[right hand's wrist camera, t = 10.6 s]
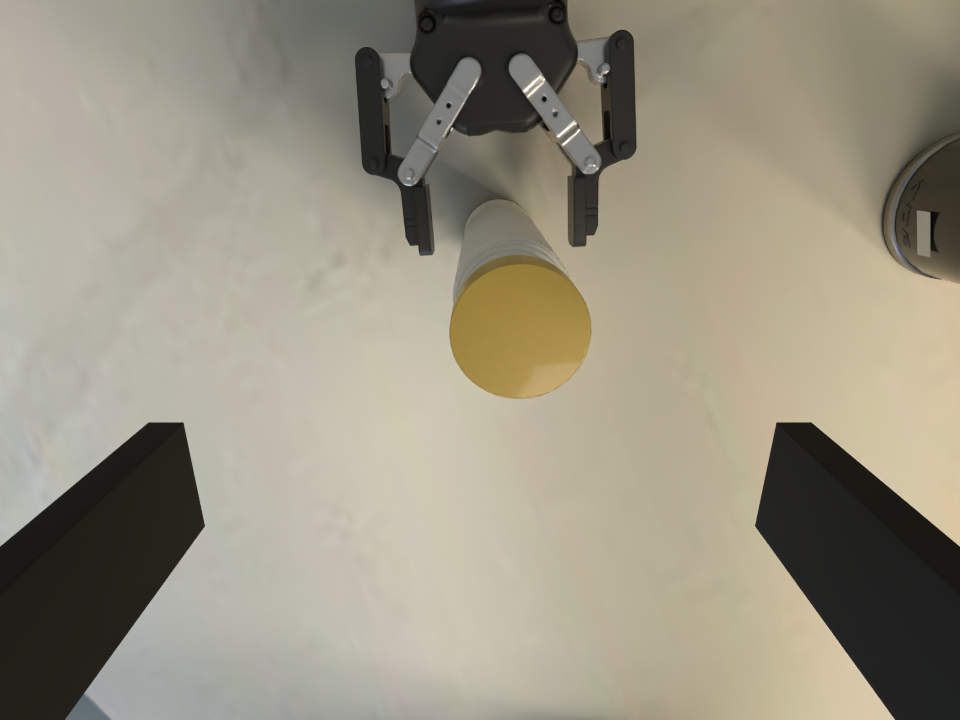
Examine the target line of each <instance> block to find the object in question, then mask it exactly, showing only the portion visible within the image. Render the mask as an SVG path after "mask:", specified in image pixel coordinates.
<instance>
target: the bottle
mask: <svg viewBox="0 0 960 720" xmlns="http://www.w3.org/2000/svg"><path fill="white" fill-rule="evenodd" d="M512 255H527V256H533V257H537V258H540V259H543V260H545V261H548V262H550V263H552V264H553V265H555V266H557V267H558V268H559V269H560V270H562V271H563V272H564V273H565V274H566V275H567V276H568V273H567V271H566V269H565V267H564V265H563V263H562V262H561V260H560V259H559V258H558V256H557V255H556V253H555V252H554V251H553V249H552V248H551V246H550V245H549V244H548V242H547V241H546V240H545V238H544V237H543V235H542V234H541V233H540V231H539V230H538V229H537V227H536V226H535V224H534V223H533V222H532V220H531V219H530V217H529V216H528V215H527V213H526V212H525V211H524V210H523V209H522V208H521V207H520V206H519V205H517V204H515V203H513V202H511V201H508V200H503V199H496V200H490V201H487V202H485V203H483V204H481V205H480V206H478V207H477V208H476V209H475V210H474V211H473V212H472V213H471V215H470V217H469V218H468V220H467V223H466V226H465V231H464V236H463V242H462V247H461V252H460V257H459V262H458V267H457V273H456V278H455V283H454V290H453V302H455V299H456V296H457V294H458V292H459V290H460V288H461V287H462V285H463V283H464V282H465V281H466V280H467V278H468V277H469V276H470V275H471V274H472V273H473V272H474V271H476V270H477V269H478V268H480V267H481V266H483V265H484V264H486V263H488V262H490V261H492V260H495V259H497V258H501V257H505V256H512ZM568 277H569V276H568Z"/></svg>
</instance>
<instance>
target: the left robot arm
mask: <svg viewBox="0 0 960 720" xmlns="http://www.w3.org/2000/svg"><path fill="white" fill-rule="evenodd" d="M414 2H415V13H416V24H417V34H416V40H415V44H414V47H413V49H412V51H411V53H377V52H376V51H375V50H374V49H372V48H370V47H363V48H361V49H360V50H359V51H358V52H357V54H356V57H355V65H356V80H357V94H358V109H359V123H360V138H361V152H362V165H363V168H364V170H365V171H366V172H367V173H369V174H371V175H377V176H380V177H384V178H387V179H390V180H392V181H394V182H395V183H396V184H397V185H398V186H399V188H400V190H401V197H402V206H403V216H404V225H405V235H406V238H407V240H408V242H409V244H410V246H414V245H418V247H419V254H420V256H424V255H433V253H434V235H433V224H432V213H431V201H430V190H429V184H427V185H425V178H424V176H425V175H426V173H427V171H428V170H429V168H430V166H431V165H432V163H433V161H434V160H435V158H436V156H437V155H438V153H439V152H440V150H441V149H442V147H443V146H444V144H445V143H446V141H447V139H448V138H449V136H450V134H451V133H452V131H453V129H455V130H457V131H458V132H460V133H462V134H464V135H468V136H480V135H485V134H487V133H490V132H493V131H502V132H506V133H525V132H527V131H528V130H531V129H532V128H534V127H536V126H537V125H538V124H539V126H540V127H541V128H542V130H543V131H544V132H545V133H546V135H547V136H548V137H549V139H550V140H551V141H552V142H553V143H554V144H555V145H556V146H557V148H558V149H559V150H560V152H561V153H562V154H563V156H564V157H565V158H566V159H567V161H568V162H569V163H570V165H571V166H572V176H568V240H569V244H570V245H571V246H572V247H581V246H586V235H594V234H595V232H596V229H597V226H598V180H599V176H600V173H601V172H602V170H603V169H604V168H606V167H607V166H609V165H612V164H614V163H616V162H618V161H621V160H625V159H628V158H630V157H632V156H633V154H634V153H635V151H636V113H635V73H634V40H633V37H632V35H631V34H630V33H629V32H628V31H626V30H619V31H617V32H615V33H614V34H612V35H611V36H609V37H604V38H597V39H590V40H583V41H575V39H574V37H573V35H572V33H571V31H570V28H569V24H568V16H567V0H414ZM576 64H580V65H582V66H583V67H584V68H585V69H586V70H587V73H588V78H589V80H590V81H591V82H592V83H593V84H595V85H601V102H602V125H603V141H601V142H599V143H597V144H595V145H592V144H591V143H590V141H589V140H588V139H587V137H586V136H585V134H584V133H583V132H582V130H581V129H580V127H579V125H578V123H577V121H576V120H575V118H574V117H573V116H572V114H571V113H570V112H569V110H568V109H567V108H566V106H565V105H564V104H563V102H562V101H561V100H560V98H559V97H558V94H559V92H560V90H561V89H562V87H563V86H564V84H565V82H566V81H567V79H568V78H569V76H570V74H571V73H572V71H573V70H574V68H575V66H576ZM410 75H413V77H414V79H415V80H416V81H417V83H418V84H419V85H420V86H421V88H422V89H423V90H424V92H425V93H426V94H427V95H428V97H429V98H430V99H431V101H432V102H433V103H434V104H435V105H434V107H433V109H432V110H431V112H430V114H429V115H428V117H427V119H426V121H425V122H424V124H423V126H422V127H421V129H420V131H419V133H418V135H417V137H416V140H415V141H414V143H413V145H412V146H411V148H410V150H409V152H408V153H407V155H406V157H405V158H403V157H399V156H396V155H393V154H392V153H391V133H390V114H389V99H394V98H396V97H397V96H398V95H399V94H400V92H401V85H402V82H403V80H404V79H405V78H406V77H408V76H410ZM884 235H885V240H886V243H887V246H888V248H889V250H890V252H891V254H892V255H893V257H894V258H895V259H896V260H897V261H898V262H899V263H900V264H901V265H902V266H903V267H905V268H906V269H908V270H909V271H912V272H914V273H916V274H920V275H923V276H926V277H930V278H934V279H942V280H946V281H950V282H953V283H957V284H960V133H957V134H954V135H951V136H948V137H946V138H943V139H942V140H940V141H938V142H936V143H934V144H933V145H931V146H929V147H928V148H927V149H925V150H924V151H922V152H921V153H920V154H919V155H918V156H917V157H915V158H914V159H913V160H912V161H911V162H910V164H909V165H908V166H907V167H906V168H905V169H904V171H903V172H902V173H901V175H900V176H899V178H898V179H897V181H896V183H895V184H894V186H893V188H892V190H891V193H890V195H889V198H888V201H887V204H886V208H885V213H884Z"/></svg>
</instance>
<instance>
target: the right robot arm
mask: <svg viewBox="0 0 960 720" xmlns="http://www.w3.org/2000/svg"><path fill="white" fill-rule="evenodd" d="M204 527H205V524H204V520H203V515H202V510H201V505H200V500H199V495H198V491H197V486H196V481H195V476H194V471H193V467H192V462H191V457H190V452H189V447H188V442H187V438H186V433H185V428H184V423H148V424H146V425H145V426H144V427H143V428H142V429H140V430H139V431H138V432H137V433H136V434H134V435H133V436H132V437H131V438H130V439H128V440H127V441H126V442H125V443H124V444H122V445H121V446H120V447H119V448H118V449H117V450H115V451H114V452H113V453H112V454H111V455H109V456H108V457H107V458H106V459H105V460H103V461H102V462H101V463H100V464H99V465H97V466H96V467H95V468H94V469H93V470H91V471H90V472H89V473H88V474H87V475H85V476H84V477H83V478H82V479H81V480H79V481H78V482H77V483H76V484H75V485H73V486H72V487H71V488H70V489H69V490H67V491H66V492H65V493H64V494H63V495H61V496H60V497H59V498H58V499H57V500H56V501H54V502H53V503H52V504H51V505H50V506H48V507H47V508H46V509H45V510H44V511H42V512H41V513H40V514H39V515H38V516H36V517H35V518H34V519H33V520H32V521H30V522H29V523H28V524H27V525H26V526H24V527H23V528H22V529H21V530H20V531H18V532H17V533H16V534H15V535H14V536H12V537H11V538H10V539H9V540H8V541H6V542H5V543H4V544H3V545H2V546H0V720H65V719H66V717H67V716H68V715H69V713H70V712H71V710H72V709H73V708H74V706H75V705H76V704H77V702H78V701H79V699H80V698H81V697H82V695H83V694H84V693H85V691H86V690H87V688H88V687H89V686H90V684H91V683H92V681H93V680H94V679H95V677H96V676H97V675H98V673H99V672H100V670H101V669H102V668H103V666H104V665H105V663H106V662H107V661H108V659H109V658H110V657H111V655H112V654H113V652H114V651H115V650H116V648H117V647H118V646H119V644H120V643H121V641H122V640H123V639H124V637H125V636H126V634H127V633H128V632H129V630H130V629H131V628H132V626H133V625H134V623H135V622H136V621H137V619H138V618H139V616H140V615H141V614H142V612H143V611H144V610H145V608H146V607H147V605H148V604H149V603H150V601H151V600H152V599H153V597H154V596H155V594H156V593H157V592H158V590H159V589H160V587H161V586H162V585H163V583H164V582H165V581H166V579H167V578H168V576H169V575H170V574H171V572H172V571H173V569H174V568H175V567H176V565H177V564H178V563H179V561H180V560H181V558H182V557H183V556H184V554H185V553H186V551H187V550H188V549H189V547H190V546H191V545H192V543H193V542H194V540H195V539H196V538H197V536H198V535H199V534H200V532H201V531H202V529H203V528H204ZM755 527H756V528H757V529H758V531H759V532H760V534H761V535H762V536H763V538H764V539H765V540H766V542H767V543H768V545H769V546H770V547H771V549H772V550H773V551H774V553H775V554H776V556H777V557H778V558H779V560H780V561H781V563H782V564H783V565H784V567H785V568H786V569H787V571H788V572H789V574H790V575H791V576H792V578H793V579H794V581H795V582H796V583H797V585H798V586H799V587H800V589H801V590H802V592H803V593H804V594H805V596H806V597H807V599H808V600H809V601H810V603H811V604H812V605H813V607H814V608H815V610H816V611H817V612H818V614H819V615H820V616H821V618H822V619H823V621H824V622H825V623H826V625H827V626H828V628H829V629H830V630H831V632H832V633H833V634H834V636H835V637H836V639H837V640H838V641H839V643H840V644H841V646H842V647H843V648H844V650H845V651H846V652H847V654H848V655H849V657H850V658H851V659H852V661H853V662H854V663H855V665H856V666H857V668H858V669H859V670H860V672H861V673H862V675H863V676H864V677H865V679H866V680H867V681H868V683H869V684H870V686H871V687H872V688H873V690H874V691H875V693H876V694H877V695H878V697H879V698H880V699H881V701H882V702H883V704H884V705H885V706H886V708H887V709H888V711H889V712H890V713H891V715H892V716H893V717H894V719H895V720H960V546H958V545H957V544H956V543H955V542H954V541H952V540H951V539H950V538H949V537H948V536H946V535H945V534H944V533H943V532H942V531H940V530H939V529H938V528H937V527H936V526H934V525H933V524H932V523H931V522H930V521H928V520H927V519H926V518H925V517H924V516H922V515H921V514H920V513H919V512H918V511H916V510H915V509H914V508H913V507H912V506H910V505H909V504H908V503H907V502H906V501H904V500H903V499H902V498H901V497H900V496H899V495H897V494H896V493H895V492H894V491H893V490H891V489H890V488H889V487H888V486H887V485H885V484H884V483H883V482H882V481H881V480H879V479H878V478H877V477H876V476H875V475H873V474H872V473H871V472H870V471H869V470H867V469H866V468H865V467H864V466H863V465H861V464H860V463H859V462H858V461H857V460H855V459H854V458H853V457H852V456H851V455H849V454H848V453H847V452H846V451H845V450H843V449H842V448H841V447H840V446H839V445H838V444H836V443H835V442H834V441H833V440H832V439H830V438H829V437H828V436H827V435H826V434H824V433H823V432H822V431H821V430H820V429H818V428H817V427H816V426H815V425H814V424H812V423H776V428H775V433H774V438H773V442H772V447H771V452H770V457H769V462H768V467H767V471H766V476H765V481H764V486H763V491H762V495H761V500H760V505H759V510H758V515H757V520H756V524H755Z"/></svg>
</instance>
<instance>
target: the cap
mask: <svg viewBox="0 0 960 720" xmlns="http://www.w3.org/2000/svg"><path fill="white" fill-rule="evenodd" d="M590 340H591V320H590V315H589V311H588V308H587V305H586V303H585V301H584V299H583V297H582V295H581V294H580V293H579V291H578V290H577V288H576V287H575V285H574V284H573V282H572V281H571V280H570V278H569V277H568V276H567V275H566V274H565V273H564V272H563V271H562V270H560V269H559V268H558V267H557V266H555V265H553V264H552V263H550V262H548V261H545V260H543V259H540V258H537V257H533V256H527V255H512V256H505V257H501V258H497V259H495V260H492V261H490V262H488V263H486V264H484V265H483V266H481V267H480V268H478V269H477V270H476V271H474V272H473V273H472V274H471V275H470V276H469V277H468V278H467V280H466V281H465V282H464V283H463V285H462V287H461V288H460V290H459V292H458V294H457V296H456V299H455V302H454V305H453V310H452V316H451V322H450V344H451V348H452V352H453V355H454V357H455V360H456V362H457V364H458V365H459V367H460V369H461V370H462V371H463V373H464V374H465V375H466V376H467V377H468V378H469V379H470V380H471V381H472V382H473V383H474V384H476V385H477V386H479V387H480V388H482V389H483V390H485V391H487V392H489V393H492V394H494V395H498V396H501V397H506V398H513V399H523V398H532V397H536V396H540V395H543V394H546V393H548V392H550V391H552V390H554V389H556V388H558V387H559V386H561V385H562V384H564V383H565V382H566V381H567V380H568V379H570V378H571V377H572V375H573V374H574V373H575V372H576V371H577V370H578V368H579V367H580V365H581V364H582V362H583V360H584V358H585V356H586V354H587V351H588V348H589V344H590Z"/></svg>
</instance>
